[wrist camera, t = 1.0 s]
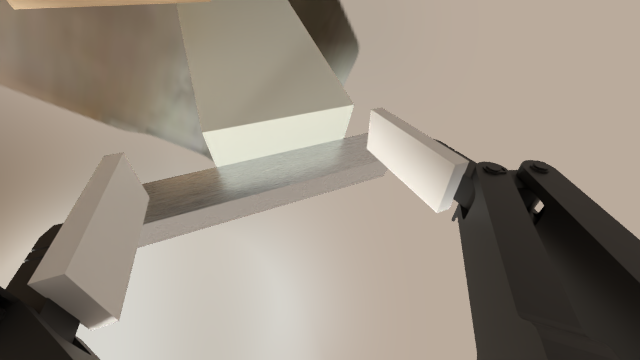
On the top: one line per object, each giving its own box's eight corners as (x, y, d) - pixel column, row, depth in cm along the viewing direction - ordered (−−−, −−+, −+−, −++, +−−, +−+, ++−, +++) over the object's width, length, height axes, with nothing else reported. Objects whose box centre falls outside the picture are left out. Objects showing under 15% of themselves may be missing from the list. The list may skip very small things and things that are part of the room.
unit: (166, -42, 31) (202, 132, 17) (261, -41, 34) (354, 104, 21) (196, 54, 41) (233, 209, 28) (267, 47, 45) (330, 181, 31)
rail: (104, 192, 18) (103, 235, 17) (378, 130, 25) (395, 156, 24) (129, 212, 21) (130, 250, 20) (368, 151, 28) (383, 176, 27)
